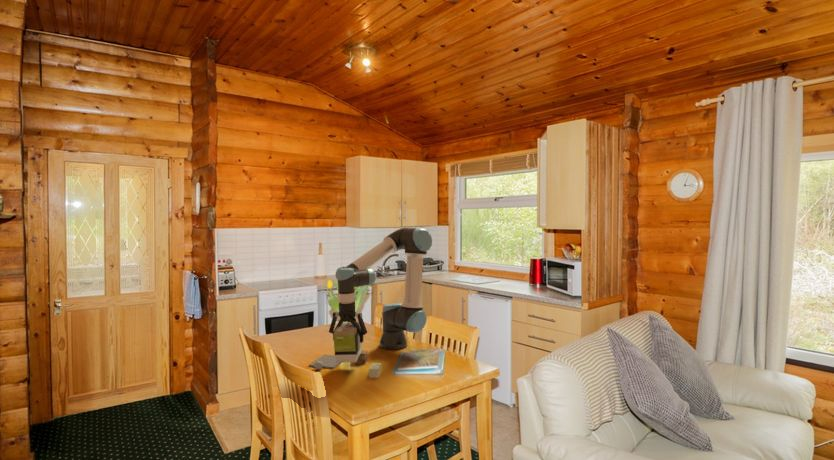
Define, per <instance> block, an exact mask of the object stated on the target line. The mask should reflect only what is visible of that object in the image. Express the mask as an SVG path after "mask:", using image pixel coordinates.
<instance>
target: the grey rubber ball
mask: <svg viewBox="0 0 834 460" xmlns="http://www.w3.org/2000/svg"><path fill="white" fill-rule="evenodd" d="M322 367H323V363H322V362H321V361H316V362H315V364H314V367H313V368H314V369H315V370H321V369H323V368H322Z"/></svg>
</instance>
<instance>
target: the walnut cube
mask: <svg viewBox="0 0 834 460" xmlns="http://www.w3.org/2000/svg"><path fill="white" fill-rule="evenodd" d="M367 356H368V355H367V350H366V349H365V350H364V349H362V351H361V353H360V355H359V357H358V359H357V361H356V362H354V364H355V365H356V364H358V365H359V364H361V365H362V364H366V363H367V359H368V358H367Z"/></svg>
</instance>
